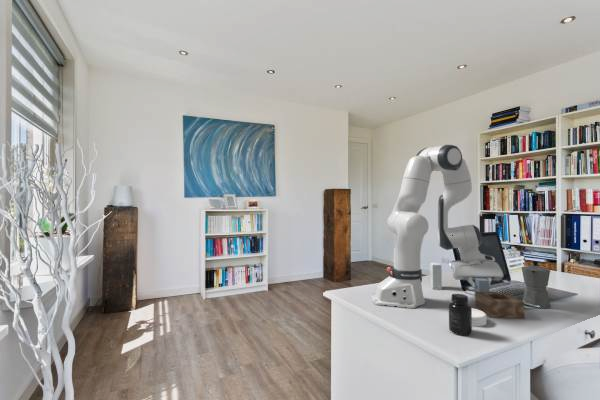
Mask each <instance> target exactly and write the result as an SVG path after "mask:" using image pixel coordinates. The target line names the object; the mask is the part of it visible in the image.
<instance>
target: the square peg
mask: <svg viewBox="0 0 600 400" xmlns="http://www.w3.org/2000/svg"><path fill="white" fill-rule="evenodd" d="M474 283H477V286H478V287H477V288H474V293H475V292H490V289H489V281H488V280H487V279H485V278H475V280H474Z"/></svg>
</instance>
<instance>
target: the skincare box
mask: <svg viewBox="0 0 600 400" xmlns="http://www.w3.org/2000/svg"><path fill="white" fill-rule="evenodd" d="M442 275H443V274H442V264H441V263H440V262H430V263H429V277H430V278H429V279H430V280H429V282H430V283H429V284H430V285H429V286H430V287H431V288H432V289H433V290H442V287H443V284H442V281H443V280H442V278H443V277H442Z"/></svg>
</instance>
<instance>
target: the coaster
mask: <svg viewBox="0 0 600 400" xmlns="http://www.w3.org/2000/svg"><path fill="white" fill-rule="evenodd" d="M471 309H472V327H484V326H486V325H487V324H488V323H487V318H488V316H487V315H486V314H485V313H484V312H483V311H481V310H479V309H478V308H473V307H471Z"/></svg>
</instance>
